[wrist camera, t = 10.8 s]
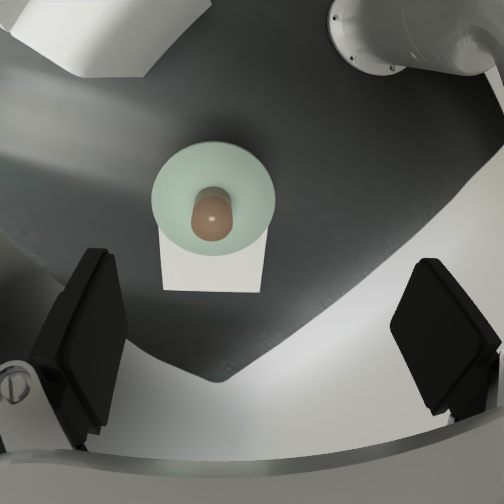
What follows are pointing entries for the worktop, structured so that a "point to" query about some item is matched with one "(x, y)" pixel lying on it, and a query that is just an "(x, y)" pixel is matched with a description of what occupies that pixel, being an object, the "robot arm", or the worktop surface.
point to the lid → (213, 198)
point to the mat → (212, 268)
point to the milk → (100, 31)
